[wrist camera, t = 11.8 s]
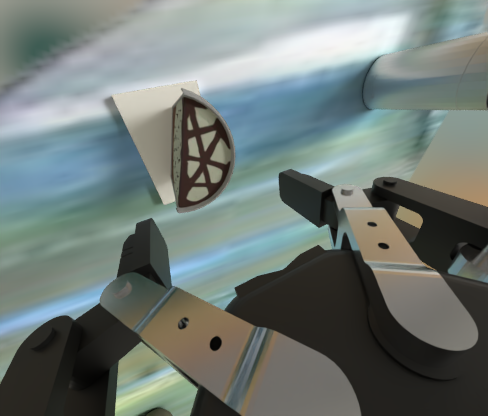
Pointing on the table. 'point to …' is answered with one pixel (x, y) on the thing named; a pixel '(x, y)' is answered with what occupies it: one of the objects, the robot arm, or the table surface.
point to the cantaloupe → (159, 412)
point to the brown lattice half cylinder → (199, 152)
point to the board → (153, 129)
